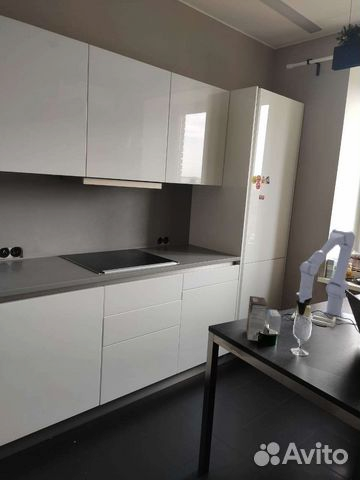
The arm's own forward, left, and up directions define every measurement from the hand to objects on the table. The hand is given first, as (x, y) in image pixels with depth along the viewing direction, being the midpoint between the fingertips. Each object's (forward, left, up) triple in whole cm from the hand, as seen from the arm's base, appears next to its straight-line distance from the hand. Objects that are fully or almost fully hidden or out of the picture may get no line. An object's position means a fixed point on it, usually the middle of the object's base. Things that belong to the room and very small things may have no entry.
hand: (302, 312), depth 178 cm
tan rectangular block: (0, 0, -2) cm, 2 cm away
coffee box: (+37, -13, -3) cm, 39 cm away
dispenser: (0, +9, -2) cm, 10 cm away
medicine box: (+27, -8, -3) cm, 28 cm away
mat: (0, 0, -2) cm, 2 cm away
